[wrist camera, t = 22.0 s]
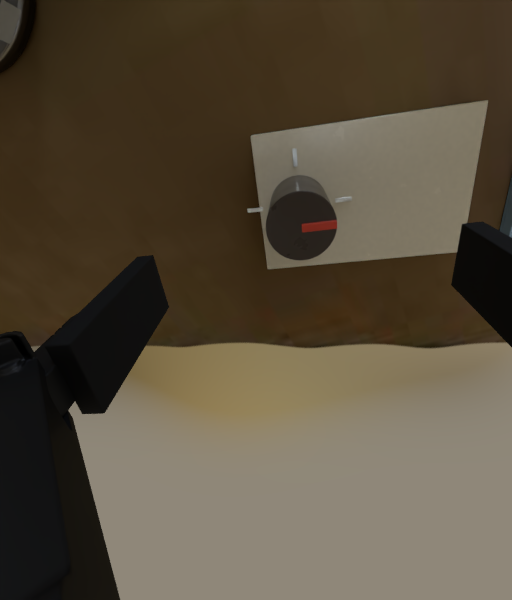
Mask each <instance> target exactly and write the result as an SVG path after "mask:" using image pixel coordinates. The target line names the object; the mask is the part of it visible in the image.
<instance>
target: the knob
mask: <svg viewBox="0 0 512 600" xmlns="http://www.w3.org/2000/svg"><path fill="white" fill-rule="evenodd" d="M336 231H337V217H336V213H335V211H334V209H333V207H332V205H331V203H330V201H329V199H328V197H327V195H326V193H325V191H324V189H323V187H322V186H321V184H320V183H319V182H318V181H316V180H315V179H313V178H311V177H308V176H304V175H296V176H291V177H289V178H287V179H285V180H283V181H282V182H281V183H280V184H279V185H278V186H277V187H276V188H275V190H274V192H273V194H272V197H271V201H270V206H269V210H268V215H267V219H266V234H267V238H268V241H269V243H270V244H271V246H272V247H273V248H274V250H275V251H276V252H278V253H279V254H280V255H282V256H284V257H286V258H288V259H292V260H308V259H312V258H314V257H317V256H318V255H320V254H322V253H323V252H324V251H325V250H326V249H327V248H328V247H329V246H330V245H331V243H332V242H333V240H334V238H335V235H336Z"/></svg>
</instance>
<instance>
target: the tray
mask: <svg viewBox="0 0 512 600" xmlns="http://www.w3.org/2000/svg"><path fill="white" fill-rule="evenodd" d="M500 232H502V233H504V234H506V235H508V236H510V237H511V238H512V177H511V181H510V186H509V190H508V195H507V199H506V204H505V208H504V213H503V217H502V222H501V226H500Z"/></svg>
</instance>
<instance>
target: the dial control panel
mask: <svg viewBox="0 0 512 600" xmlns="http://www.w3.org/2000/svg"><path fill="white" fill-rule="evenodd" d="M487 106H488V100H483V101H474V102H467V103H460V104H454V105H447V106H440V107H434V108H427V109H421V110H414V111H407V112H401V113H394V114H387V115H381V116H374V117H367V118H361V119H354V120H348V121H341V122H334V123H328V124H321V125H314V126H308V127H301V128H294V129H288V130H281V131H275V132H268V133H261V134H255V135H252V136H251V137H250V138H251V145H252V153H253V161H254V169H255V176H256V184H257V192H258V200H259V207H257V208H249V209H247V211H248V213H252V212H260V215H261V223H262V230H263V238H264V246H265V254H266V261H267V269H278V268H289V267H300V266H311V265H322V264H333V263H344V262H355V261H366V260H377V259H388V258H399V257H410V256H421V255H432V254H443V253H454V252H457V249H458V244H459V238H460V232H461V227H462V224H465V223H467V221H468V215H469V210H470V204H471V198H472V192H473V186H474V181H475V175H476V169H477V163H478V158H479V152H480V146H481V140H482V134H483V129H484V123H485V117H486V111H487ZM296 175H304V176H308V177H311V178H313V179H315V180H316V181H318V182H319V183H320V184H321V186H322V187H323V189H324V191H325V193H326V195H327V197H328V199H329V201H330V203H331V205H332V207H333V209H334V211H335V213H336V217H337V231H336V235H335V238H334V240H333V242H332V243H331V245H330V246H329V247H328V248H327V249H326V250H325V251H324V252H323V253H322V254H320V255H318V256H317V257H314V258H312V259H308V260H292V259H288V258H286V257H284V256H282V255H280V254H279V253H278V252H276V251H275V250H274V248H273V247H272V246H271V244H270V243H269V241H268V238H267V234H266V219H267V215H268V210H269V206H270V201H271V197H272V194H273V192H274V190H275V188H276V187H277V186H278V185H279V184H280V183H281V182H282V181H283V180H285V179H287V178H289V177H291V176H296Z"/></svg>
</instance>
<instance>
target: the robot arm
mask: <svg viewBox="0 0 512 600" xmlns="http://www.w3.org/2000/svg"><path fill="white" fill-rule="evenodd" d="M34 13H35V0H0V72H2V71H4V70H5V69H7V68H8V67H9V66H11V65H12V64H13V63H14V62H15V61H16V60H17V58H18V57H19V56H20V54H21V53H22V51H23V50H24V48H25V46H26V44H27V41H28V39H29V36H30V33H31V29H32V25H33V20H34ZM451 285H452V286H453V287H454V288H455V289H456V290H457V291H458V292H459V293H460V294H461V295H462V296H463V297H464V298H465V299H466V301H467V302H468V303H469V304H470V305H471V306H472V307H473V308H474V309H475V310H476V311H477V312H478V313H479V314H480V315H481V316H482V317H483V318H484V319H485V320H486V321H487V322H488V323H489V324H490V325H491V326H492V327H493V328H494V329H495V330H496V331H497V333H498V334H499V335H500V336H501V337H502V338H503V339H504V340H505V341H506V342H507V343H508V344H509V345H510V346H511V347H512V238H511V237H510V236H508V235H506V234H504V233H502V232H500V231H499V230H497V229H495V228H493V227H491V226H489V225H488V224H486V223H484V222H475V223H465V224H462V227H461V232H460V238H459V244H458V249H457V255H456V261H455V267H454V272H453V278H452V284H451ZM168 308H169V306H168V302H167V299H166V296H165V293H164V289H163V286H162V283H161V280H160V276H159V273H158V270H157V267H156V263H155V260H154V257H153V255H151V256H142V257H137V258H136V259H135V260H134V261H133V262H131V263H130V264H129V265H128V266H127V267H126V268H125V269H124V270H123V271H122V272H121V273H120V274H119V275H118V276H117V277H116V278H115V279H114V280H113V281H112V282H111V283H110V284H109V285H108V286H106V287H105V288H104V289H103V290H102V291H101V292H100V293H99V294H98V295H97V296H96V297H95V298H94V299H93V300H92V301H91V302H90V303H89V304H88V305H87V306H86V307H85V308H84V309H82V310H81V311H80V312H79V313H78V314H76V315H75V316H73V317H71V318H70V319H69V320H68V321H67V322H66V323H65V324H64V325H63V326H62V328H59V329H58V330H57V331H56V332H55V335H52V336H51V337H50V338H49V339H48V340H47V341H46V342H45V343H44V344H42V345H41V346H40V347H39V348H38V349H37V350H36V351H35V352H33V350H32V348H31V346H30V345H29V343H28V341H27V340H26V338H25V336H24V335H23V333H22V332H18V331H13V332H7V333H3V334H0V600H120V598H119V594H118V590H117V586H116V582H115V578H114V575H113V571H112V567H111V563H110V560H109V556H108V552H107V548H106V544H105V540H104V536H103V533H102V529H101V525H100V521H99V517H98V513H97V509H96V506H95V502H94V498H93V494H92V491H91V486H90V483H89V479H88V475H87V471H86V468H85V463H84V460H83V456H82V452H81V448H80V444H79V440H78V437H77V433H76V429H75V425H74V421H73V418H72V416H71V415H70V413H69V411H68V410H69V408H70V407H71V406H72V404H73V403H74V401H76V403H77V405H78V407H79V409H80V410H81V412H82V414H98V413H105V412H106V410H107V408H108V407H109V405H110V403H111V402H112V400H113V398H114V397H115V395H116V393H117V392H118V390H119V388H120V387H121V385H122V383H123V382H124V380H125V378H126V377H127V375H128V373H129V372H130V370H131V369H132V367H133V365H134V364H135V362H136V360H137V359H138V357H139V356H140V354H141V352H142V351H143V349H144V347H145V346H146V344H147V342H148V341H149V339H150V337H151V336H152V334H153V332H154V331H155V329H156V328H157V326H158V324H159V323H160V321H161V319H162V318H163V316H164V314H165V313H166V311H167V309H168Z"/></svg>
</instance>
